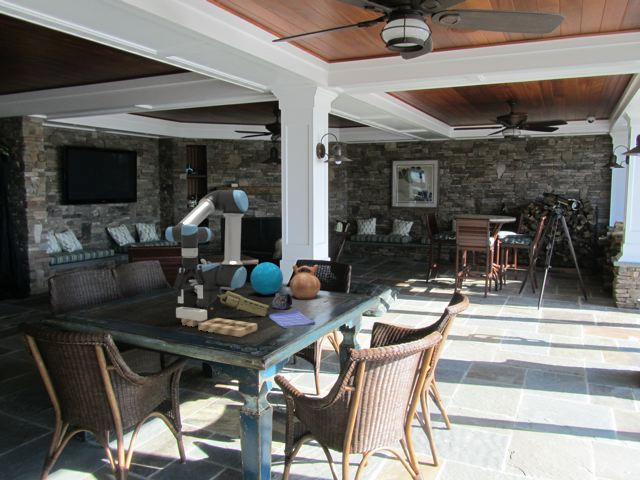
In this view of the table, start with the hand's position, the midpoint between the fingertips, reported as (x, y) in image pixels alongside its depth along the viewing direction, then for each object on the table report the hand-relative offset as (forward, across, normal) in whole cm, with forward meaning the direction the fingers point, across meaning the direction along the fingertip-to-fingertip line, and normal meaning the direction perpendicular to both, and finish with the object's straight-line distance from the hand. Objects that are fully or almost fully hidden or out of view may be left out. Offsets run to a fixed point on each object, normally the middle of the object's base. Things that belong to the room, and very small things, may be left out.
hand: (190, 300), depth 255 cm
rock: (+11, +52, -19) cm, 56 cm away
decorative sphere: (+11, +78, +9) cm, 79 cm away
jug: (+11, +82, -16) cm, 84 cm away
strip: (+11, 0, 0) cm, 11 cm away
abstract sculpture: (+11, +68, +42) cm, 81 cm away
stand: (+12, 0, 0) cm, 12 cm away
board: (+12, 0, -22) cm, 25 cm away
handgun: (+12, +22, -10) cm, 27 cm away
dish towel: (+12, +29, -39) cm, 50 cm away
